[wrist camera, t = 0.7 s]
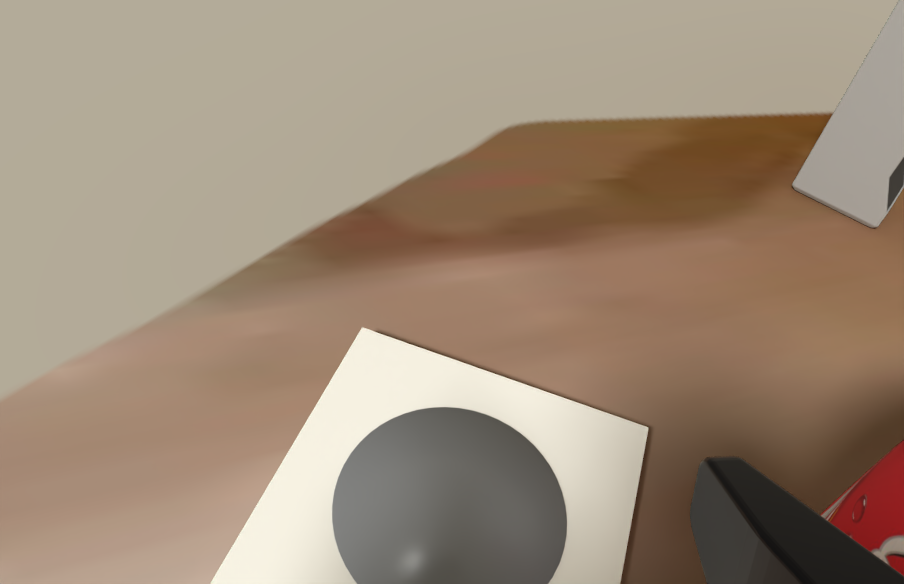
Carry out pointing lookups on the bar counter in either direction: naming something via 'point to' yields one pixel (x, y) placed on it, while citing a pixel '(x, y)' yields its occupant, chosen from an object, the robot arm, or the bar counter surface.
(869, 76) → the vintage mobile phone
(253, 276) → the bar counter surface
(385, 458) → the plate
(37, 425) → the bar counter surface
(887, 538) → the soda can
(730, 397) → the bar counter surface
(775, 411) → the bar counter surface
